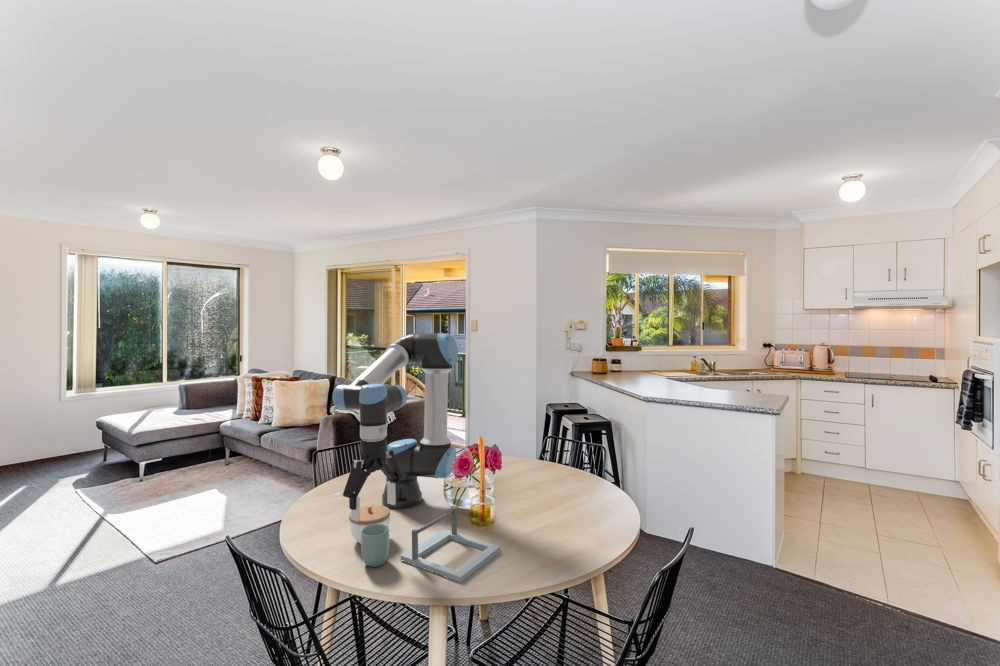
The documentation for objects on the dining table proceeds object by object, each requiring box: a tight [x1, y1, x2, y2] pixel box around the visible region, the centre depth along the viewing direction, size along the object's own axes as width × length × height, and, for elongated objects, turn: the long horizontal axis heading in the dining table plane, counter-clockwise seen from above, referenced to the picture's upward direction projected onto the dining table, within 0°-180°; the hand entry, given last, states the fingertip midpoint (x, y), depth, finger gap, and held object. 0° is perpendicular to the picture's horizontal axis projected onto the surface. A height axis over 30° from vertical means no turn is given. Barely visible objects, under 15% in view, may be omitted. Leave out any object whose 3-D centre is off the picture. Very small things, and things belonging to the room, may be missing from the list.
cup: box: [360, 524, 390, 568], centre depth 140 cm, size 8×8×10 cm
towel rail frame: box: [399, 506, 501, 583], centre depth 144 cm, size 22×20×10 cm
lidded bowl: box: [348, 504, 391, 545], centre depth 154 cm, size 13×13×11 cm
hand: (374, 511), depth 139 cm, fingers open, 13 cm apart
